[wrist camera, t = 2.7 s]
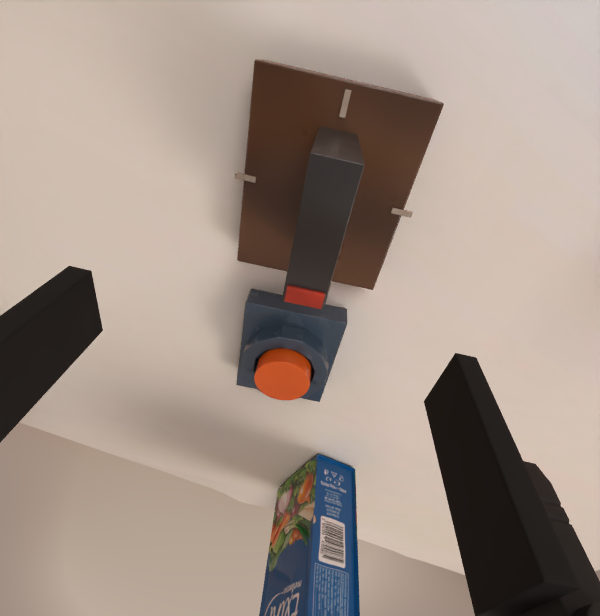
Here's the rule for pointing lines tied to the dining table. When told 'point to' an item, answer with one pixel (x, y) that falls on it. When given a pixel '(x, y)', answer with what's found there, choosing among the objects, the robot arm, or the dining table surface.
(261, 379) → the button
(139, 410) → the dining table surface
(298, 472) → the blue food package
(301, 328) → the button box
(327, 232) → the red-cornered grey panel
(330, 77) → the dial panel
